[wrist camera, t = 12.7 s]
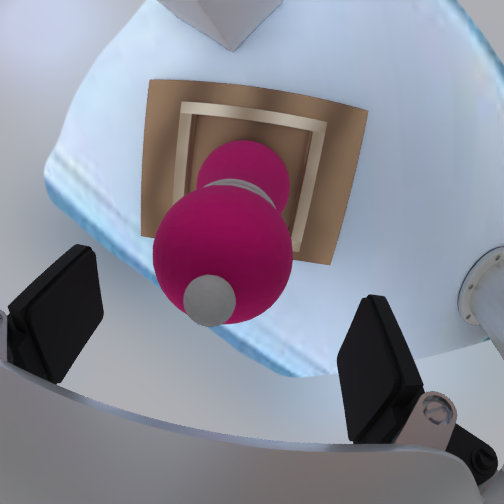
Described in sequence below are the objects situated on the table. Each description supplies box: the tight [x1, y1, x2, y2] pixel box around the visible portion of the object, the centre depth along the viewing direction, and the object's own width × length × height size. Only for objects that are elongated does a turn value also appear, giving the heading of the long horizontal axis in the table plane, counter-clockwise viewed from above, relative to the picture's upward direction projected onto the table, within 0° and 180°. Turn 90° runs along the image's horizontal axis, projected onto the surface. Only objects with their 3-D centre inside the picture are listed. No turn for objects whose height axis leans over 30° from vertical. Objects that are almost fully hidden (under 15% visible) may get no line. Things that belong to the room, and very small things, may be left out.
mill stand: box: [141, 80, 368, 265], centre depth 27 cm, size 20×16×3 cm
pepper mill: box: [153, 140, 293, 327], centre depth 18 cm, size 7×7×20 cm
